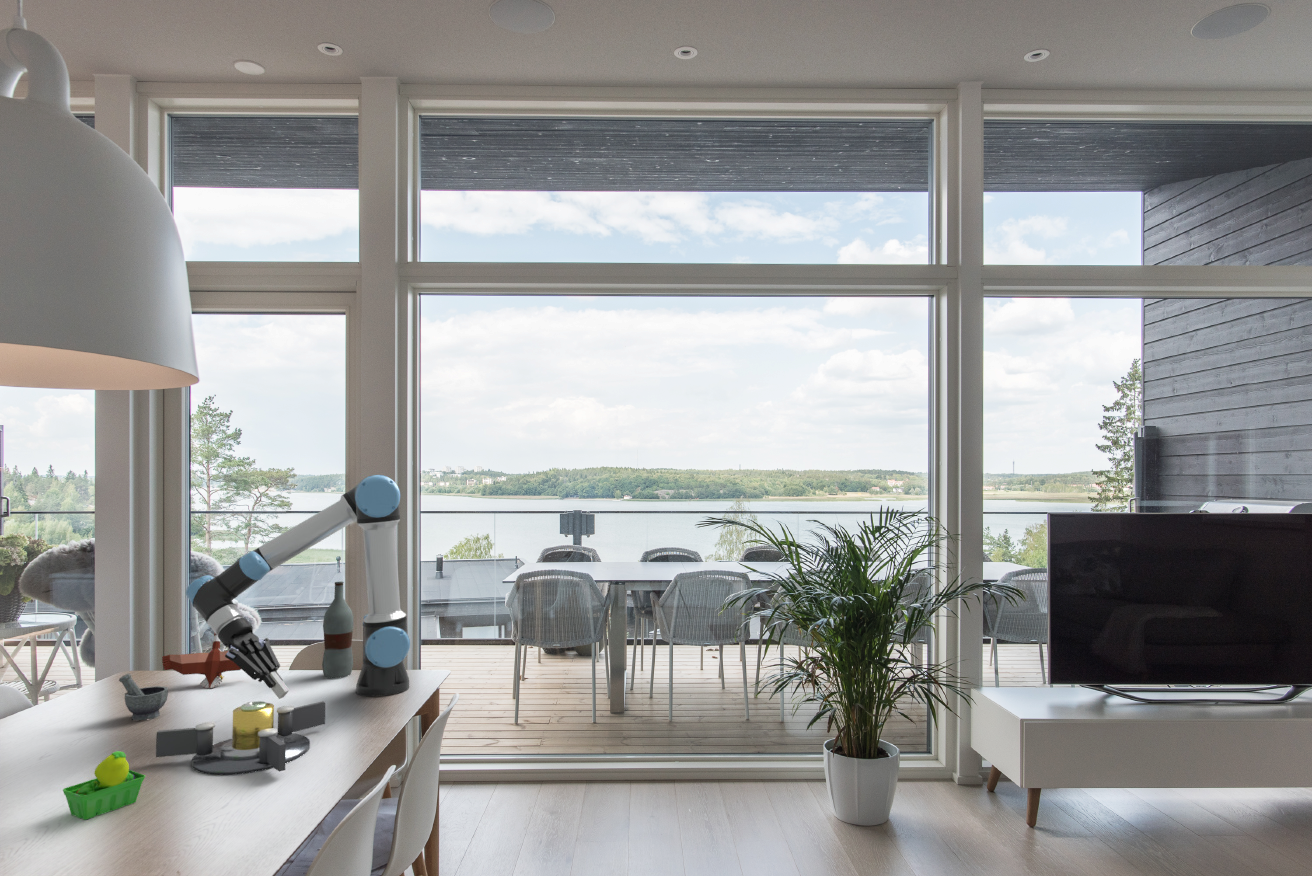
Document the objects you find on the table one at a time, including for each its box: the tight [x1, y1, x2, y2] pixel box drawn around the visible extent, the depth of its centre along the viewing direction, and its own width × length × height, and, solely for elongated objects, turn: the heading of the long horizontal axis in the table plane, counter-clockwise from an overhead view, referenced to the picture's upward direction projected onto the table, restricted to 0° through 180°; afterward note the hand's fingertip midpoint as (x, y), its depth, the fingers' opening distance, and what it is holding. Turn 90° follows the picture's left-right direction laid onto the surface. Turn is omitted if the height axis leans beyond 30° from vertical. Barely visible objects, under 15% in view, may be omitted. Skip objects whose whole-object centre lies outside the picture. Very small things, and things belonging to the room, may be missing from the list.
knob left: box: [258, 728, 286, 772], centre depth 164 cm, size 12×4×6 cm, turn 45°
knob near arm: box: [276, 700, 326, 736], centre depth 186 cm, size 12×4×6 cm, turn 138°
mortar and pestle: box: [118, 673, 169, 722], centre depth 201 cm, size 11×9×12 cm
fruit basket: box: [62, 750, 146, 821], centre depth 145 cm, size 11×9×11 cm
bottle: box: [321, 581, 355, 679], centre depth 244 cm, size 9×9×30 cm
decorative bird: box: [161, 631, 242, 690], centre depth 235 cm, size 28×18×15 cm, turn 110°
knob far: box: [155, 721, 216, 758], centre depth 170 cm, size 12×4×6 cm, turn 105°
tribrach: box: [191, 700, 311, 776], centre depth 174 cm, size 24×24×12 cm
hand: (284, 694), depth 191 cm, fingers closed
